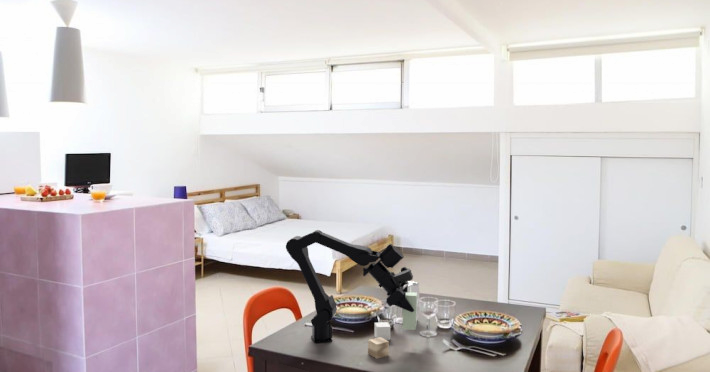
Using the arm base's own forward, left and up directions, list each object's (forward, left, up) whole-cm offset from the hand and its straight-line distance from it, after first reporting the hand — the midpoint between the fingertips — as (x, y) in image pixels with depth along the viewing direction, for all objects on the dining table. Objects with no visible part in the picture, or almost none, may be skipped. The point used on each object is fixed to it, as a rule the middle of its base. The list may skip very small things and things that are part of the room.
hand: (413, 309), depth 194 cm
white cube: (-7, +12, -14) cm, 19 cm away
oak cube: (-14, -3, -14) cm, 20 cm away
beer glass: (+11, +28, -14) cm, 33 cm away
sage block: (-1, +1, -7) cm, 7 cm away
